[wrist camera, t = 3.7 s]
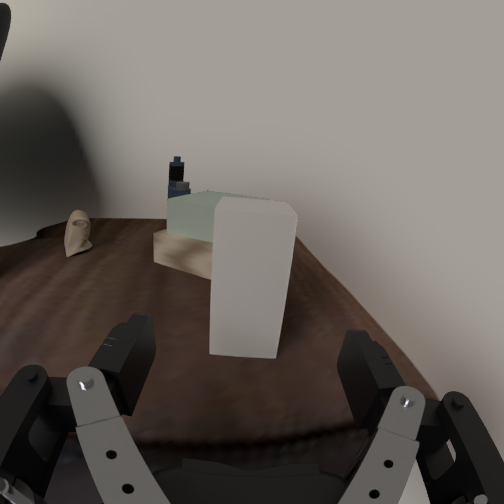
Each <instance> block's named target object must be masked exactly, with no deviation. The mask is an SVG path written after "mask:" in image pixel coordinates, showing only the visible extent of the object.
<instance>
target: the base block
mask: <svg viewBox="0 0 504 504" xmlns="http://www.w3.org/2000/svg"><path fill="white" fill-rule="evenodd" d="M153 236H154V262H156V263H159V264H162V265H166V266H169V267H172V268H175V269H178V270H181V271H184V272H187V273H191V274H194V275H197V276H200V277H203V278H207V279H210V280H211V273H212V250H213V243H211V242H207V241H202V240H198V239H193V238H189V237H184V236H179V235H175V234H170V233H167V229H165V230H162V231H158V232H155V233H153Z"/></svg>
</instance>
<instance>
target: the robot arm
mask: <svg viewBox="0 0 504 504" xmlns="http://www.w3.org/2000/svg"><path fill="white" fill-rule="evenodd" d="M10 22H11V11H10V8H9V6H8V5H7V4H5V3H0V60H1V57H2V53H3V50H4V47H5V43H6V40H7V36H8V32H9V28H10ZM155 352H156V343H155V334H154V325H153V317H152V316H151V315H146V314H139V313H133V314H132V316H131V318H130V319H129V321H128V322H127V324H126V323H120V324H119V325H117V326H116V327H114V328H113V329H112V330H111V331H110V333H109V334H108V336H107V338H106V339H105V340H104V342H103V345H101V346H100V348H99V349H98V351H97V352H96V354H95V355H94V357H93V358H92V360H91V362H90V363H89V365H88V366H87V367H80V368H77V369H75V370H74V371H72V372H71V373H70V374H69V376H68V377H67V378H62V377H48V375H47V372H46V370H45V369H44V368H43V367H41V366H39V365H28V366H25V367H23V368H21V369H20V370H19V371H18V372H17V373H16V375H15V376H14V378H13V379H12V380H11V382H10V383H9V385H8V386H7V388H6V389H5V391H4V392H3V394H2V395H1V397H0V504H47V503H46V502H45V500H44V497H45V494H46V491H47V488H48V485H49V482H50V479H51V476H52V474H53V471H54V468H55V466H56V463H57V460H58V458H59V455H60V453H61V450H62V448H63V445H64V443H65V440H66V438H67V435H68V433H69V432H77V435H78V438H79V441H80V444H81V447H82V450H83V453H84V456H85V459H86V461H87V464H88V467H89V469H90V472H91V474H92V477H93V479H94V482H95V484H96V486H97V489H98V491H99V493H100V495H101V498H102V500H103V502H104V503H102V504H398V502H399V500H400V497H401V495H402V492H403V490H404V487H405V485H406V482H407V480H408V477H409V474H410V472H411V469H412V466H413V463H414V460H415V457H416V460H417V463H418V466H419V469H420V472H421V475H422V478H423V481H424V484H425V487H426V490H427V494H428V497H429V500H430V504H504V462H503V460H502V458H501V456H500V454H499V452H498V450H497V448H496V446H495V444H494V442H493V440H492V438H491V437H490V435H489V433H488V431H487V429H486V427H485V426H484V424H483V422H482V420H481V419H480V417H479V415H478V413H477V412H476V410H475V408H474V407H473V405H472V403H471V402H470V400H469V399H468V398H467V397H466V396H465V395H464V394H462V393H459V392H454V391H452V392H448V393H447V394H445V396H444V397H443V399H442V400H441V401H435V400H425V398H424V396H423V395H422V393H421V392H420V391H418V390H417V389H415V388H413V387H409V386H406V385H405V384H404V382H403V380H402V378H401V376H400V375H399V373H398V371H397V369H396V368H395V366H394V365H393V362H392V361H391V359H390V358H389V356H388V354H387V352H386V350H385V349H384V348H383V347H382V346H381V345H380V344H378V343H377V342H376V341H372V340H371V338H370V336H369V334H368V333H367V331H366V330H348V331H347V333H346V335H345V339H344V342H343V345H342V348H341V351H340V354H339V357H338V362H337V369H338V374H339V376H340V379H341V382H342V385H343V388H344V391H345V394H346V397H347V400H348V403H349V406H350V409H351V412H352V415H353V418H354V421H355V424H356V427H357V429H365V428H368V431H369V433H368V435H367V436H366V438H365V440H364V442H363V444H362V446H361V448H360V450H359V451H358V453H357V455H356V457H355V459H354V460H353V462H352V464H351V466H350V467H349V469H348V471H347V472H346V474H345V475H344V476H343V478H342V477H340V476H337V475H335V474H332V473H328V472H323V471H319V466H318V463H306V464H285V465H281V466H277V467H272V468H267V469H262V470H257V471H248V470H244V469H240V468H236V467H232V466H229V465H225V464H222V463H218V462H212V461H203V460H195V459H187V458H183V461H182V466H174V467H168V468H164V469H160V470H158V471H155V472H153V473H151V472H150V470H149V469H148V467H147V465H146V463H145V462H144V460H143V458H142V456H141V454H140V453H139V451H138V449H137V447H136V445H135V443H134V441H133V439H132V437H131V435H130V433H129V431H128V429H127V427H126V425H125V423H124V421H123V419H122V417H121V416H122V414H124V415H128V416H132V414H133V412H134V409H135V406H136V404H137V401H138V398H139V396H140V393H141V391H142V388H143V386H144V383H145V381H146V378H147V375H148V373H149V371H150V368H151V366H152V363H153V361H154V358H155ZM449 439H450V441H451V443H452V445H453V448H454V450H455V452H456V460H455V462H454V460H453V458H452V455H451V453H450V451H449V448H448V446H447V444H446V442H447V441H448V440H449Z"/></svg>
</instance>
